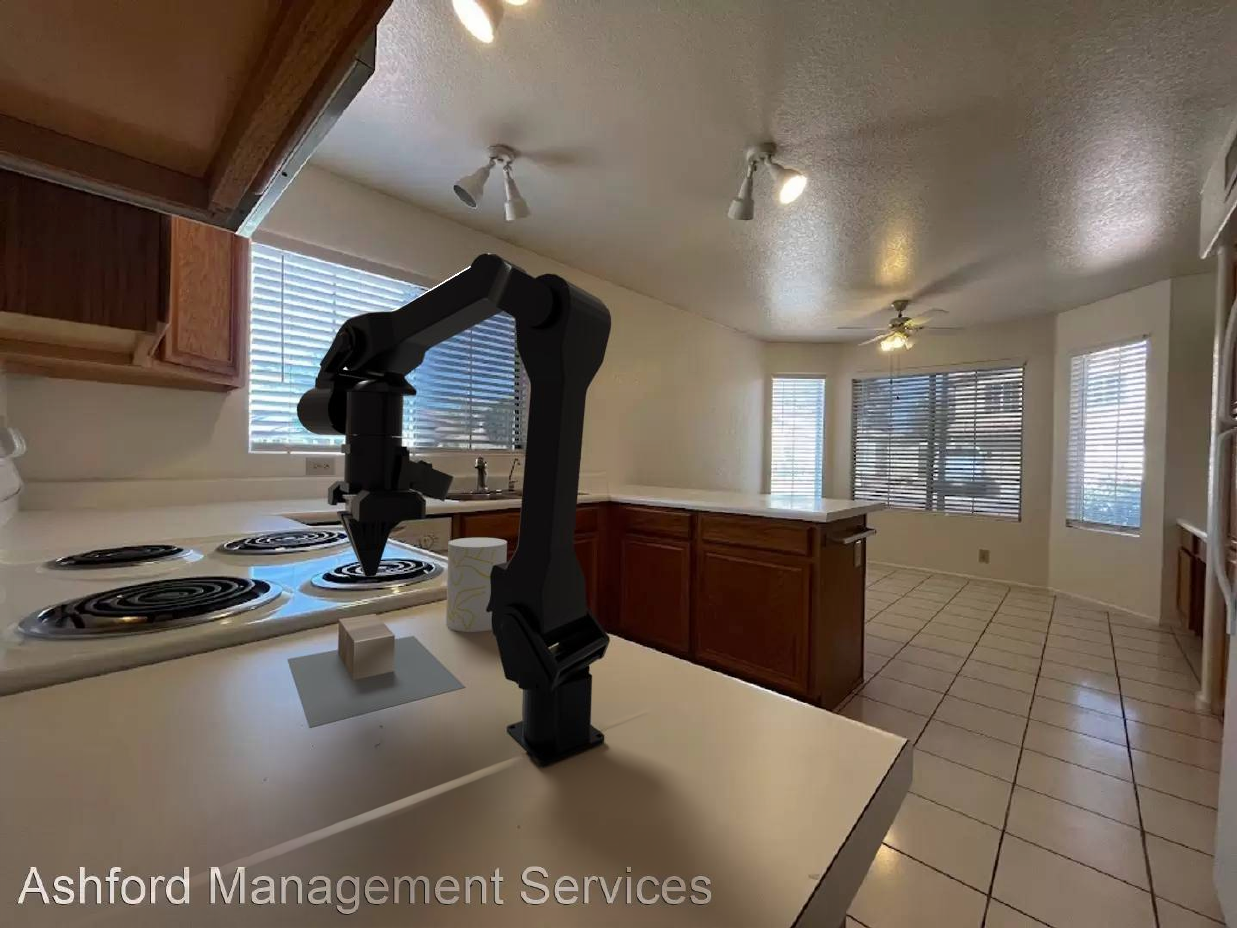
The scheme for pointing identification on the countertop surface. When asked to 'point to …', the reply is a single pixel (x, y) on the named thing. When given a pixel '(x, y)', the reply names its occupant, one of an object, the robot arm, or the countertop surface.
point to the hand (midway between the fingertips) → (370, 575)
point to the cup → (471, 581)
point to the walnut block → (366, 646)
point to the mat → (367, 683)
